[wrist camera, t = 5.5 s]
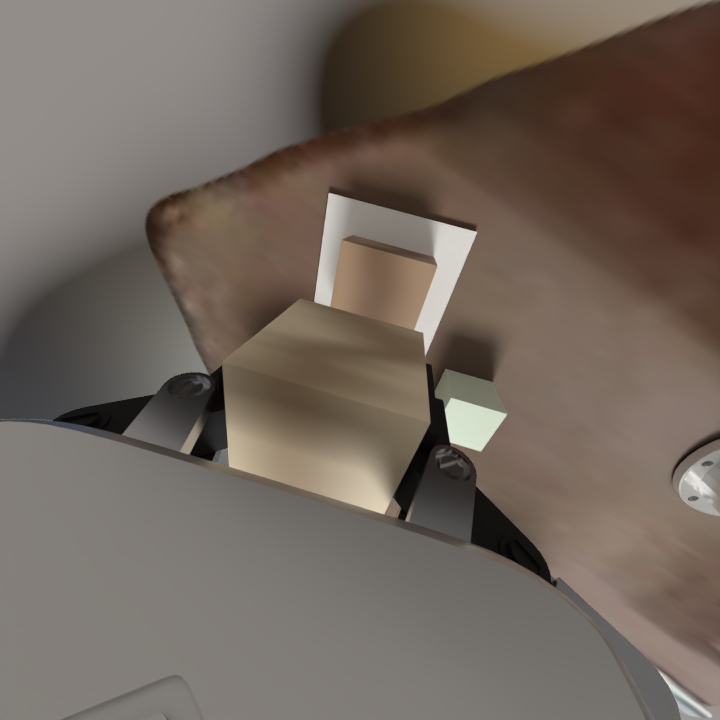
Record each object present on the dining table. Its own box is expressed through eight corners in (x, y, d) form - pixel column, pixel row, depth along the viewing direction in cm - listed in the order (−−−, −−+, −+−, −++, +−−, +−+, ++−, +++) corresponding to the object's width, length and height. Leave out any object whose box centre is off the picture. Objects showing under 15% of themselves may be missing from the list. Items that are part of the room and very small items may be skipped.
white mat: (476, 231, 21) (477, 232, 20) (423, 358, 27) (423, 360, 27) (330, 192, 21) (328, 192, 21) (311, 326, 27) (310, 327, 27)
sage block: (492, 381, 27) (507, 414, 23) (471, 416, 30) (480, 451, 25) (445, 368, 27) (451, 397, 23) (428, 403, 30) (430, 436, 26)
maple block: (423, 332, 10) (430, 422, 6) (388, 422, 13) (375, 530, 9) (300, 298, 10) (222, 362, 6) (290, 394, 13) (230, 485, 9)
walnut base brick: (434, 256, 22) (437, 266, 18) (407, 331, 25) (406, 350, 22) (352, 234, 22) (341, 239, 19) (338, 311, 26) (326, 327, 22)
